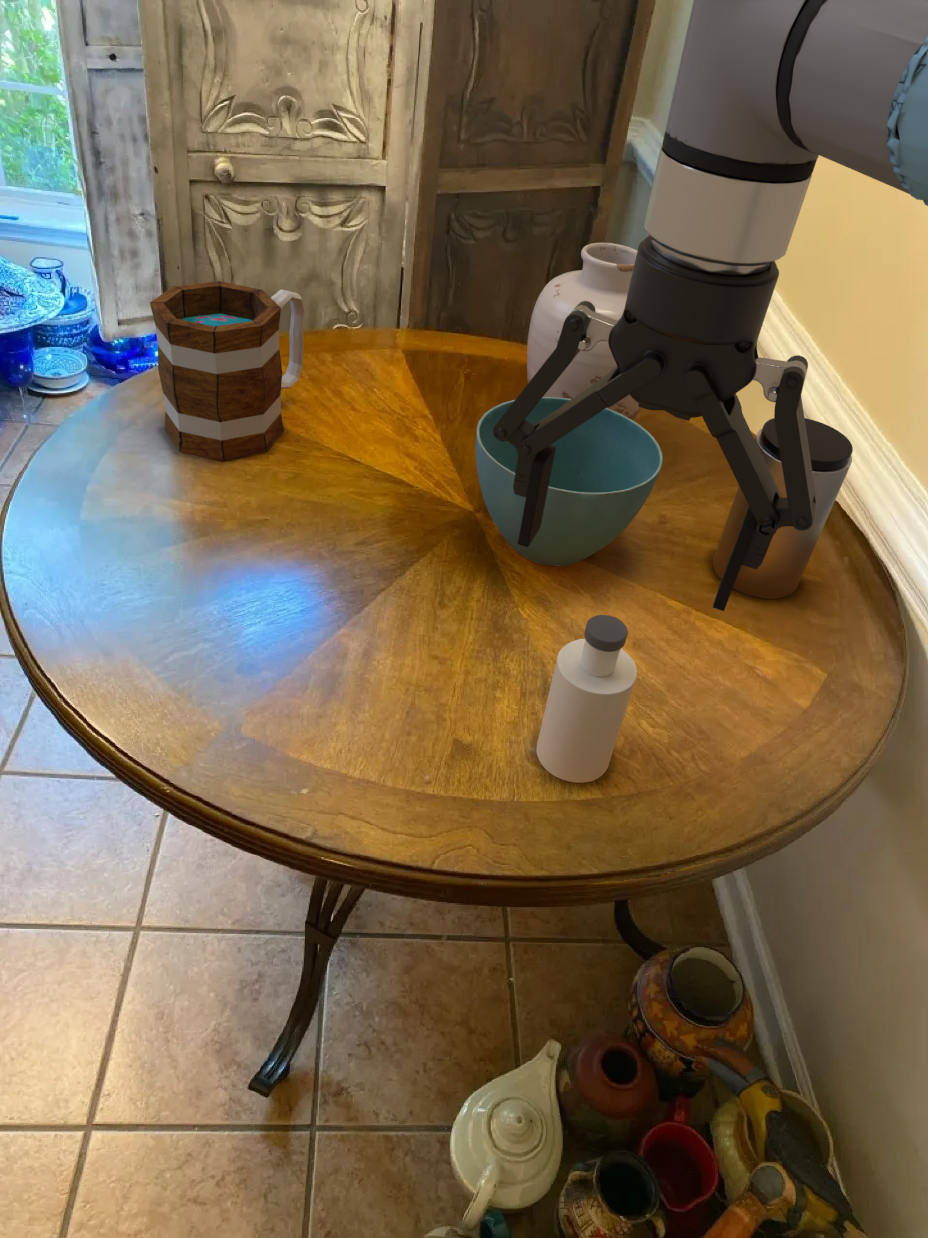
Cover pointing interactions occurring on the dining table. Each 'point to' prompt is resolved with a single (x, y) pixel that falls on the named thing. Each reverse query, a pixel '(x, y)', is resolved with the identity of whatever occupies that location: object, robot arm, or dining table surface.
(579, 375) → the vase
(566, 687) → the bottle
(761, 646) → the dining table surface
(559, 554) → the plant pot
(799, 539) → the metal canister
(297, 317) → the mug
